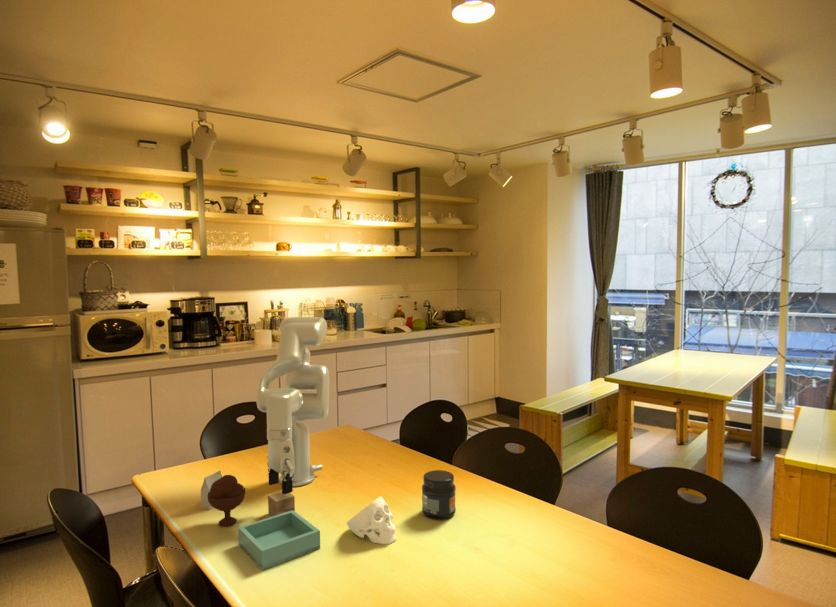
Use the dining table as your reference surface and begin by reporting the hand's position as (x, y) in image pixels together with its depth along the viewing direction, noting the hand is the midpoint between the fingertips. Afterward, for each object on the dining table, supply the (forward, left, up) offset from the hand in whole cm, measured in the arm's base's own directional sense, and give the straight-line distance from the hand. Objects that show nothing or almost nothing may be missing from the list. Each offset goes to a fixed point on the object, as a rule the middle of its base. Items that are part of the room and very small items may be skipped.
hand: (280, 488), depth 163 cm
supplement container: (-39, +30, -9) cm, 50 cm away
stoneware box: (+8, +17, -9) cm, 21 cm away
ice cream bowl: (+14, -6, -9) cm, 18 cm away
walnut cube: (-1, -1, -9) cm, 9 cm away
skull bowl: (-15, +28, -9) cm, 33 cm away
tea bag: (+13, -22, -9) cm, 27 cm away
